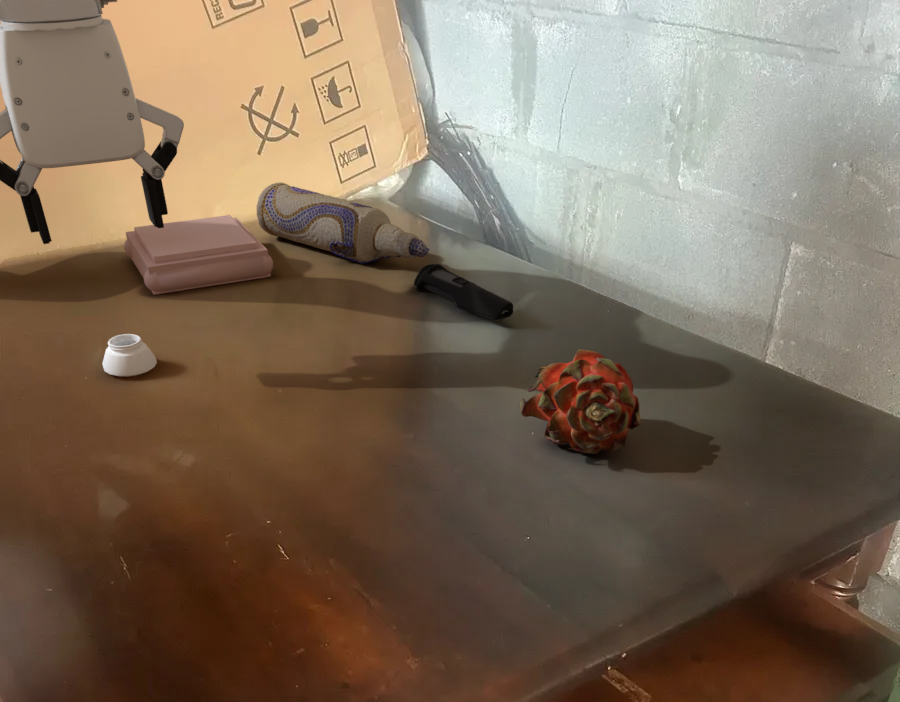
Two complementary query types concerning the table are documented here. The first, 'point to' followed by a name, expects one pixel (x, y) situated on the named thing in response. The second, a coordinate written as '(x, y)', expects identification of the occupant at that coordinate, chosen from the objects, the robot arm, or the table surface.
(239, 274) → the decorative box
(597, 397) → the dragon fruit
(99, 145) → the robot arm
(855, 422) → the table surface
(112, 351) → the white jar
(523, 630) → the table surface
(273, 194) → the decorative bottle
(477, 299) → the electric trimmer
